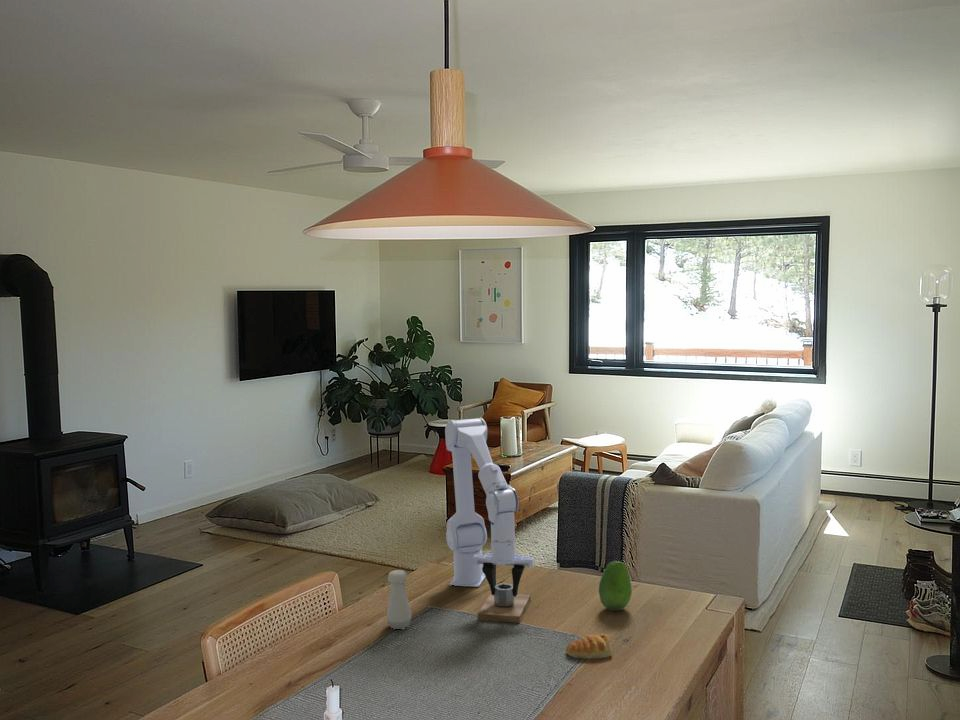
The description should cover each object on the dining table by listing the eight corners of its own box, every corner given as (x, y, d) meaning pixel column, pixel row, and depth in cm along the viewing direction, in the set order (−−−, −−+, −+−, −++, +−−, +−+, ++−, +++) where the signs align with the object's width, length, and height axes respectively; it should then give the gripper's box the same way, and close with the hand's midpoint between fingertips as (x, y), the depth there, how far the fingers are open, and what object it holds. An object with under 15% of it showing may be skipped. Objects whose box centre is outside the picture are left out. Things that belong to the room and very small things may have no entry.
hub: (497, 598, 201) (497, 582, 201) (515, 600, 200) (515, 584, 199) (492, 605, 196) (493, 589, 196) (511, 607, 195) (511, 590, 195)
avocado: (636, 614, 193) (635, 564, 193) (604, 617, 192) (603, 566, 192) (625, 602, 201) (625, 554, 201) (594, 604, 200) (593, 556, 199)
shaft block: (491, 598, 206) (490, 579, 206) (530, 601, 204) (530, 581, 204) (477, 619, 193) (477, 599, 192) (519, 622, 190) (519, 601, 190)
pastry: (572, 663, 169) (571, 645, 169) (561, 650, 175) (561, 633, 175) (615, 658, 171) (614, 640, 171) (603, 645, 178) (602, 627, 177)
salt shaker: (410, 631, 187) (408, 575, 186) (385, 631, 187) (383, 576, 186) (412, 621, 193) (411, 567, 192) (388, 621, 193) (386, 567, 192)
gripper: (469, 542, 195) (471, 598, 196) (529, 545, 191) (531, 602, 192) (476, 534, 202) (478, 588, 203) (535, 536, 198) (536, 591, 199)
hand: (504, 594), depth 198 cm, fingers closed on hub, 4 cm apart
